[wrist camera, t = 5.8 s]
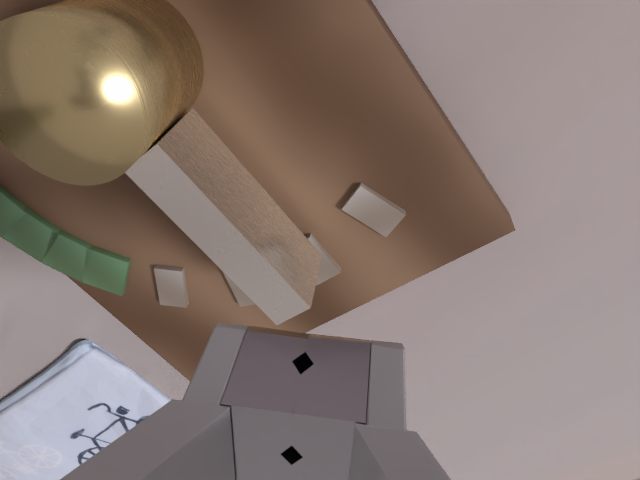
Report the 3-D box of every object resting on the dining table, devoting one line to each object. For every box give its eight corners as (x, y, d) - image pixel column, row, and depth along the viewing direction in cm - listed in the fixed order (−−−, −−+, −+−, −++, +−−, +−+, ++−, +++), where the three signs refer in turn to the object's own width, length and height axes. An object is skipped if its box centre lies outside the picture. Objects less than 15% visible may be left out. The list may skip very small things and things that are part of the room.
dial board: (-73, -685, 10) (-138, -765, 9) (509, 213, 20) (516, 234, 18) (-308, -69, 18) (-362, -66, 16) (196, 371, 27) (186, 394, 26)
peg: (47, 43, 17) (-59, 87, 13) (131, -48, 15) (36, -29, 11) (268, 275, 21) (238, 362, 17) (354, 226, 19) (343, 310, 15)
